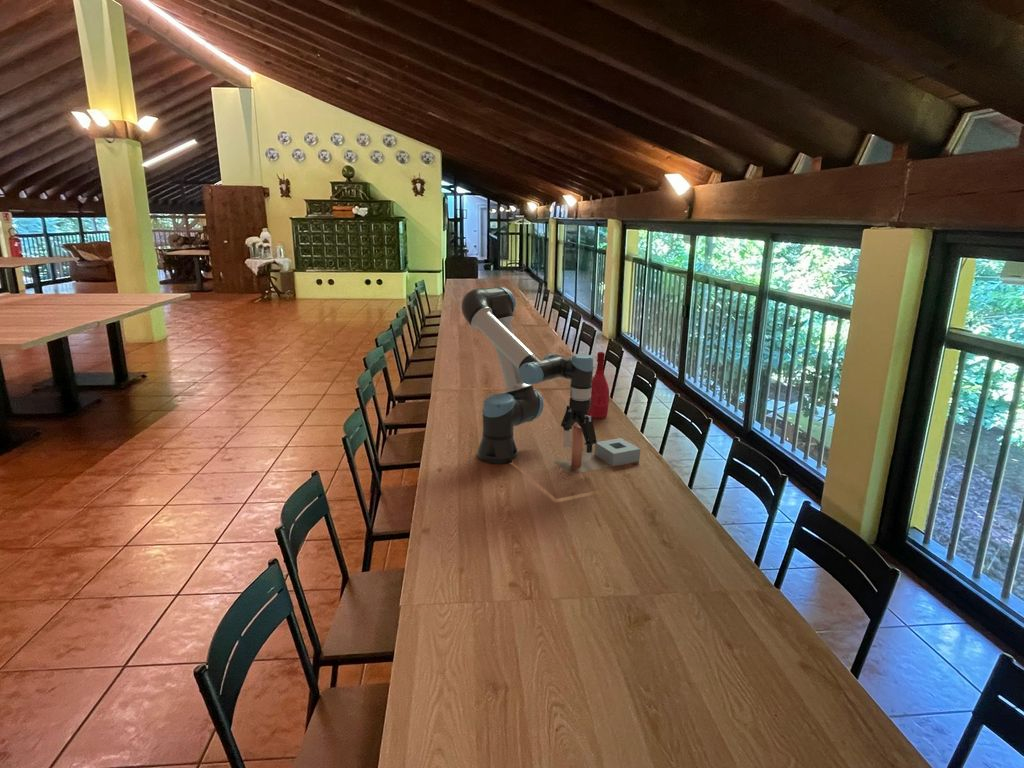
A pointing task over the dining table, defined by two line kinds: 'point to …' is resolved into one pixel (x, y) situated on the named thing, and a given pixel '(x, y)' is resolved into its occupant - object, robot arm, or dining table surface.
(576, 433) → the peg
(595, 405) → the wine bottle
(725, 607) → the dining table surface
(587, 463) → the board
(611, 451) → the socket
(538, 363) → the robot arm
